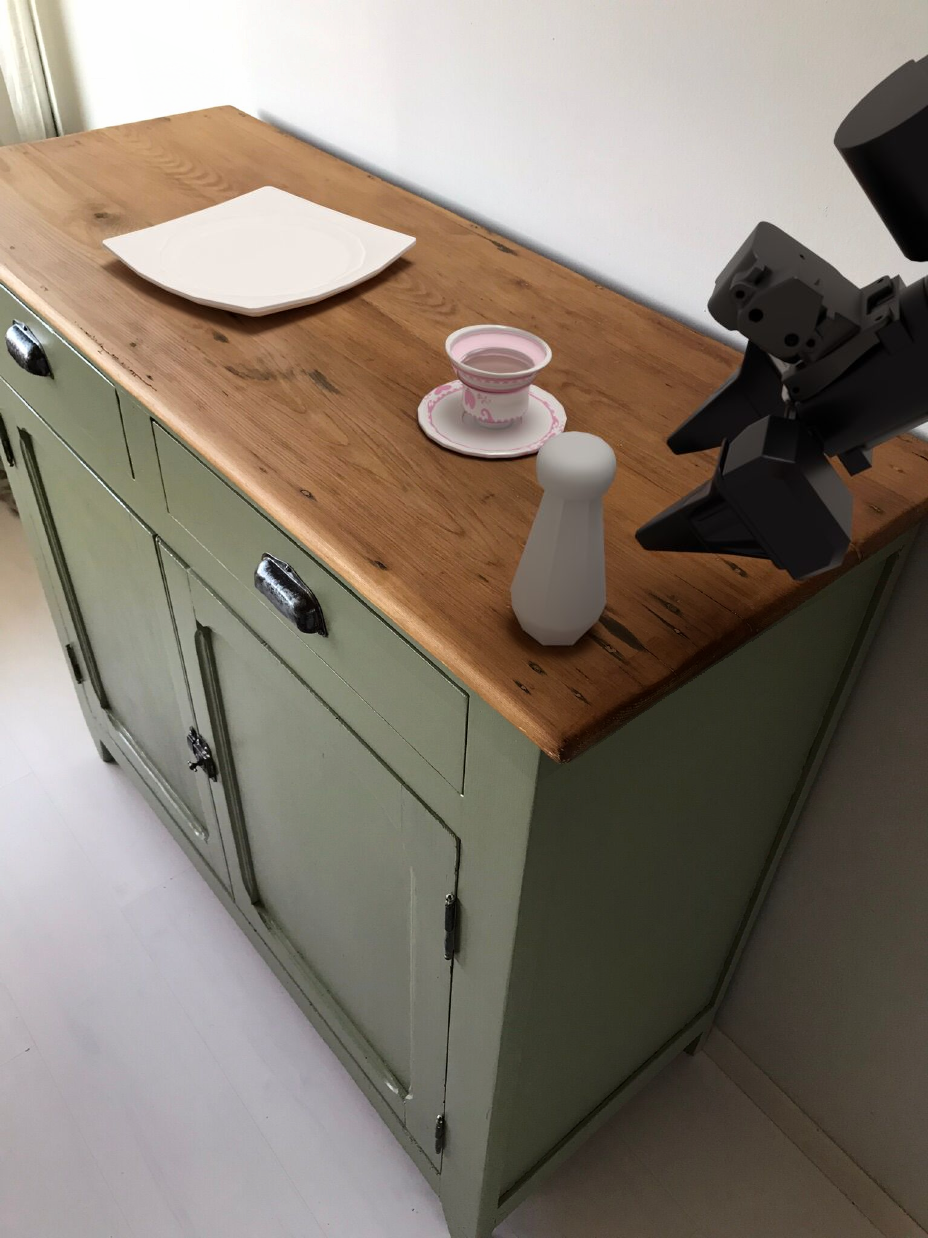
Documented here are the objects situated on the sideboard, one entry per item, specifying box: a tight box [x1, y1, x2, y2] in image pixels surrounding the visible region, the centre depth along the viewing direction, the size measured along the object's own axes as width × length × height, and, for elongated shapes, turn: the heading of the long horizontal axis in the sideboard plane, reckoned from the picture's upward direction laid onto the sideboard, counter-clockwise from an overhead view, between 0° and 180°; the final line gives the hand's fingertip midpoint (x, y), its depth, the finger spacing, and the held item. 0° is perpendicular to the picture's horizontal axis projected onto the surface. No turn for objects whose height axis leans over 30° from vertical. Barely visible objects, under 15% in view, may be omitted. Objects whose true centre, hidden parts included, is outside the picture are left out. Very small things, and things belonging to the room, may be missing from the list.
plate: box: [101, 185, 417, 317], centre depth 96 cm, size 24×24×3 cm
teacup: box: [417, 324, 568, 459], centre depth 75 cm, size 12×12×6 cm
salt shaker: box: [510, 430, 617, 646], centre depth 55 cm, size 6×6×13 cm
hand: (656, 491), depth 51 cm, fingers open, 9 cm apart
